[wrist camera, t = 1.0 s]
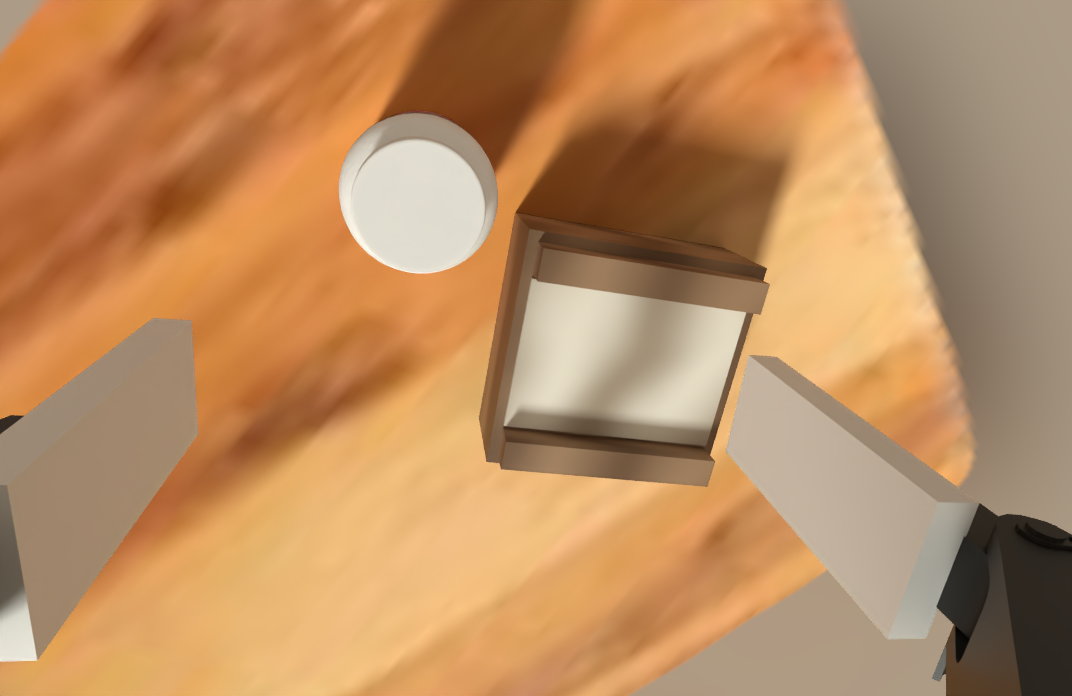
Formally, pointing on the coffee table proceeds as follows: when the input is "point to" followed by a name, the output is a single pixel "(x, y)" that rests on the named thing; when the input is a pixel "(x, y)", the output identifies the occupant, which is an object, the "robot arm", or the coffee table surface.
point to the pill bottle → (418, 192)
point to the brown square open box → (614, 352)
